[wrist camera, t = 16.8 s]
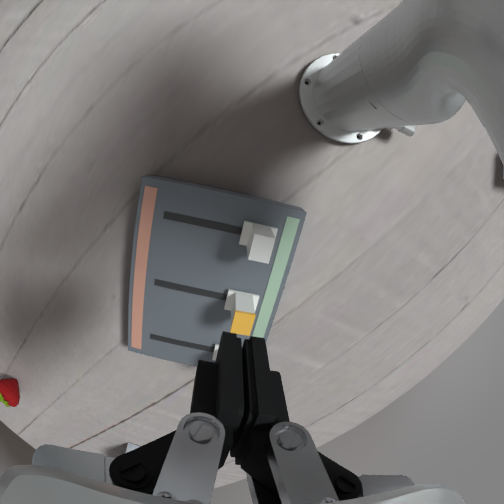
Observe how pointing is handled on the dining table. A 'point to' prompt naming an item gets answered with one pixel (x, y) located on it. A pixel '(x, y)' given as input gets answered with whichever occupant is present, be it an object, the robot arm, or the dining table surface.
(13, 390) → the strawberry
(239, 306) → the block
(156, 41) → the dining table surface
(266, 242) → the block
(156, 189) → the breaker panel
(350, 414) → the dining table surface
